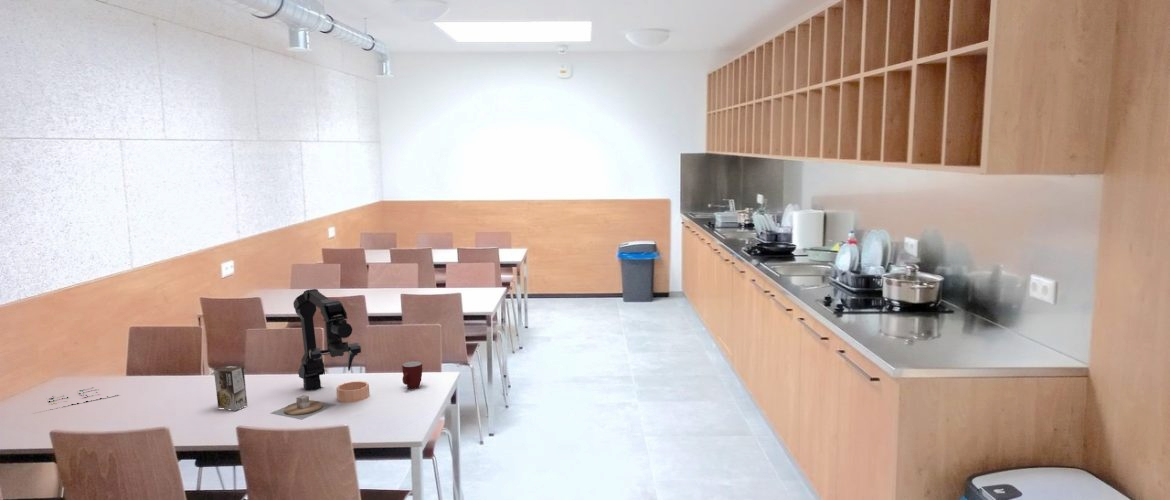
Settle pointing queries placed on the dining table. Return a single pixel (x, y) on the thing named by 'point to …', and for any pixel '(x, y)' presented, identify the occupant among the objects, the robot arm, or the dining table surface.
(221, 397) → the coffee box
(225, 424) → the dining table surface
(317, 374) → the robot arm
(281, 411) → the mat
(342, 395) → the bowl
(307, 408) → the lid
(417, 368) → the mug
